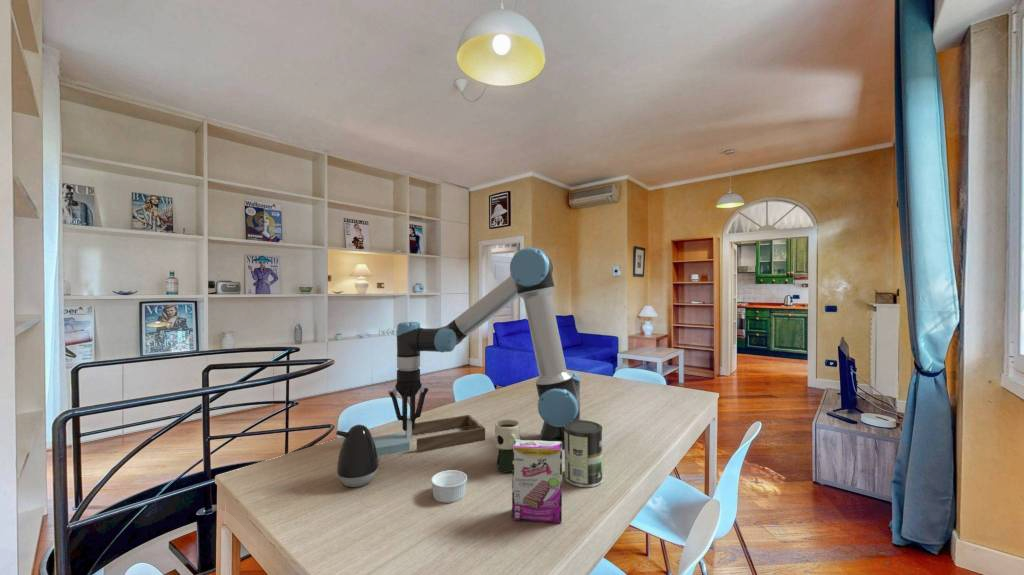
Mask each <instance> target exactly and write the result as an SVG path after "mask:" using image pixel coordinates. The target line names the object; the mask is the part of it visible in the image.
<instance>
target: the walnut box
mask: <svg viewBox="0 0 1024 575" xmlns="http://www.w3.org/2000/svg"><path fill="white" fill-rule="evenodd" d="M467 426H468V427H469V428H470V429H469V428H468V427H467ZM461 427H463V428H468V429H466V430H461V431H456V432H448V433H442V434H438V435H437V434H436V435H432V436H431V435H430V436H425V437H420V438H416V452H417V453H422V452H429V451H433V450H438V449H444V448H449V447H455V446H460V445H465V444H466V445H467V444H470V443H477V442H482V441H486V427H485V426H483V425H482V424H480V423H479V422H478V420H476V419H475V418H474V417H472V416H471V415H470V414H466V415H460V416H451V417H447V418H440V419H433V420H425V421H420V422H415V429H413V430H412V435H415V436H419V435H418V434H421V435H426V434H425V433H427V434H432V432H433V433H439V432H444V430H445V431H451V430H456V429H455V428H457V429H462V428H461ZM450 429H451V430H450ZM438 431H439V432H438Z"/></svg>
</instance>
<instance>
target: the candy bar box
mask: <svg viewBox="0 0 1024 575" xmlns="http://www.w3.org/2000/svg"><path fill="white" fill-rule="evenodd" d="M511 472H512V478H511V480H512V481H511V485H512V486H511V488H512V489H511V491H512V492H511V495H512V496H511V501H512V502H511V506H512V507H511V520H513V521H526V522H538V521H541V522H542V523H543V522H544V523H554V522H558V523H557V524H559V523H560V522H561V523H563V522H562V517H563V514H562V513H563V448H562V442H560V441H541V440H538V439H537V440H535V439H534V440H533V439H520V440H518V439H515V440H514V445H513V465H512V471H511ZM561 523H560V524H561Z"/></svg>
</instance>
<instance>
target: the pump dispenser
mask: <svg viewBox="0 0 1024 575" xmlns="http://www.w3.org/2000/svg"><path fill="white" fill-rule="evenodd" d="M335 434H336V435H337V436H340V437H341V438H344V439H343V441H342V443H341V447H340V450H339V454H338V460H337V466H336V467H337V468H336V473H337V475H338V478H339V480H340V481H341V483H342V484H343V485H345V486H346V487H350V488H358V487H362V486H364V485H367V484H369V482H371V481H372V480H373V479H374V478H375V475H376V473H377V470H378V468H379V456H377V450H376V446H375V443H374V440H373V435H372V433H371V431H370V429H369V428H368V427H367V426H365V425H364V424H356V425H353V426H351V427H350V428H349V430H348V431H343V430H337V431H336V433H335Z"/></svg>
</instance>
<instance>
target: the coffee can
mask: <svg viewBox="0 0 1024 575" xmlns="http://www.w3.org/2000/svg"><path fill="white" fill-rule="evenodd" d="M564 441H565V449H564V479H565V481H566V482H567V483H569V484H570V485H572V486H576V487H578V486H579V488H595V487H598V486H599V485H601V484H602V483H603V480H604V479H603V426H602V424H600V423H598V422H595V421H591V420H584V419H583V420H582V419H580V420H575V421H570V422H567V423H565V424H564Z"/></svg>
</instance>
